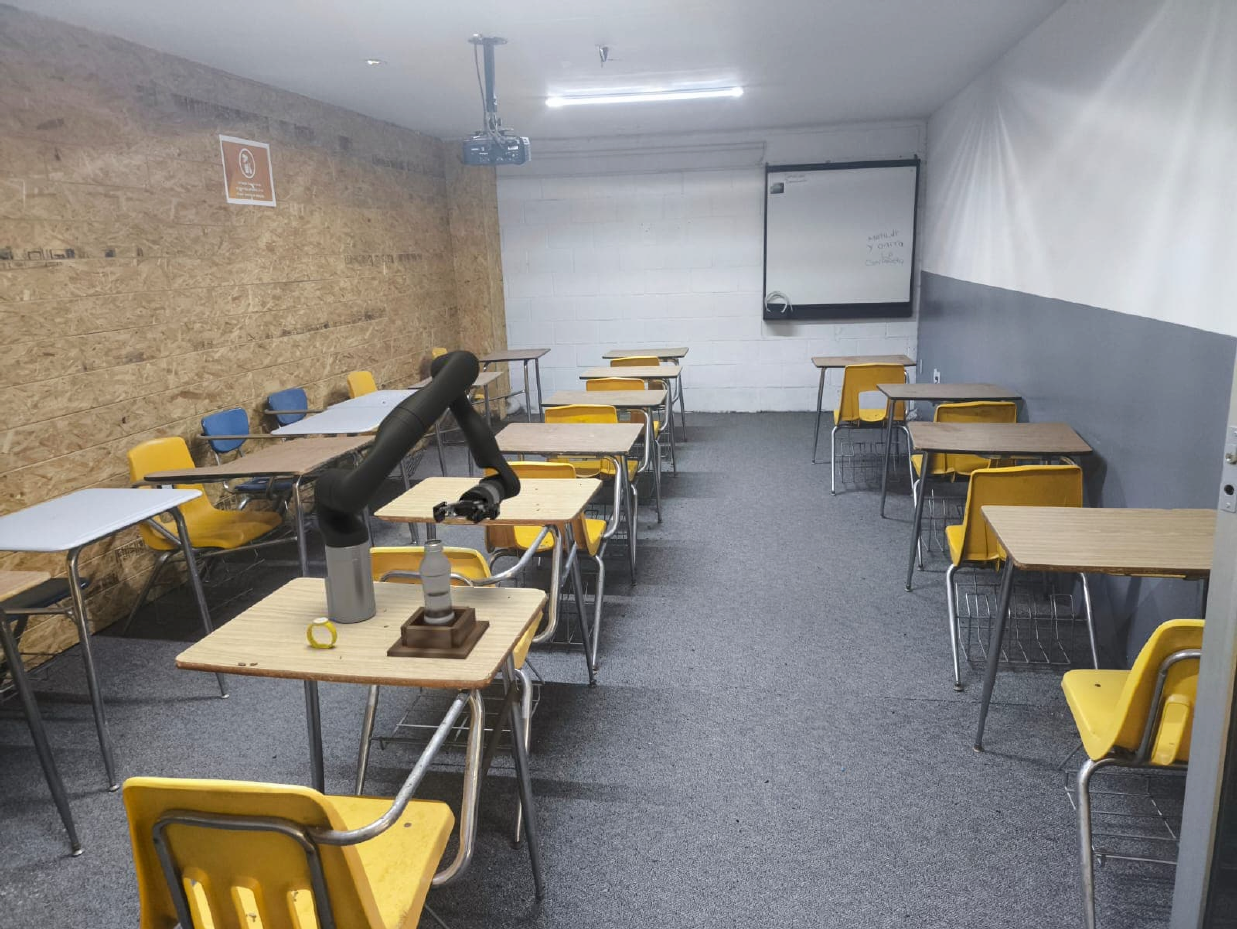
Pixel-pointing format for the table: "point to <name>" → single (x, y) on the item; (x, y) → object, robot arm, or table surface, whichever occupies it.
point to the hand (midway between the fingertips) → (456, 519)
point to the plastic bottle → (436, 585)
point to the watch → (320, 623)
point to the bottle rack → (439, 636)
